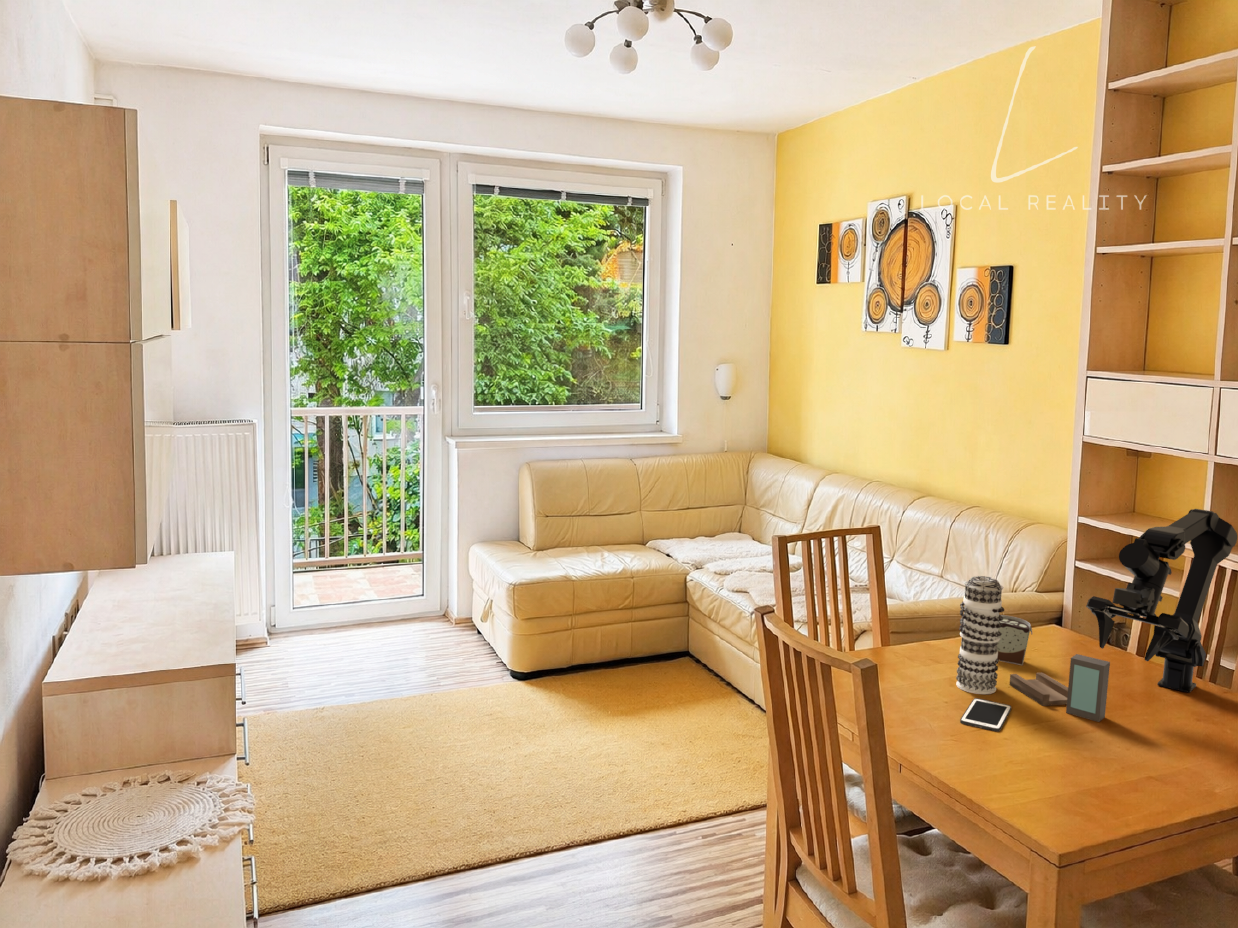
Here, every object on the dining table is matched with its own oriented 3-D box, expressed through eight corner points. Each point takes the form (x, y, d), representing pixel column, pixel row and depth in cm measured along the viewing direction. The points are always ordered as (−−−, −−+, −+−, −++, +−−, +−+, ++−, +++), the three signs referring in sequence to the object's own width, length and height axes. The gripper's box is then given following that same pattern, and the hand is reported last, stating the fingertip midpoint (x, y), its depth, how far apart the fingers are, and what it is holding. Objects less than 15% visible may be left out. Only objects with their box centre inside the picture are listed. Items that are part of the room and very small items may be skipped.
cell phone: (958, 724, 190) (959, 720, 190) (974, 701, 202) (974, 697, 202) (999, 734, 186) (999, 729, 186) (1012, 709, 198) (1012, 705, 198)
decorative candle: (987, 679, 214) (995, 573, 211) (1005, 695, 205) (1014, 584, 201) (948, 679, 214) (955, 573, 210) (964, 694, 205) (972, 584, 201)
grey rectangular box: (1071, 708, 198) (1076, 653, 197) (1104, 717, 194) (1110, 661, 192) (1065, 712, 196) (1070, 657, 194) (1098, 722, 191) (1104, 666, 190)
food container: (1033, 659, 228) (1037, 619, 227) (1029, 666, 223) (1032, 626, 221) (980, 649, 235) (983, 610, 233) (975, 656, 229) (978, 617, 228)
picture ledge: (1041, 682, 212) (1042, 672, 212) (1076, 703, 201) (1077, 692, 200) (1009, 684, 211) (1010, 674, 211) (1042, 705, 199) (1043, 694, 199)
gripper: (1088, 562, 200) (1063, 629, 198) (1181, 582, 185) (1155, 655, 183) (1108, 580, 207) (1085, 646, 204) (1200, 601, 192) (1175, 672, 189)
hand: (1123, 653), depth 195 cm, fingers open, 9 cm apart
